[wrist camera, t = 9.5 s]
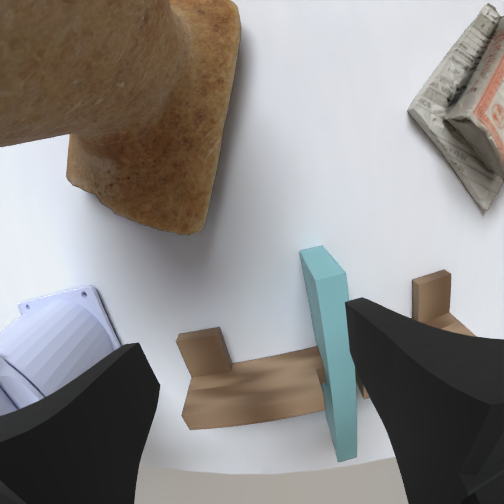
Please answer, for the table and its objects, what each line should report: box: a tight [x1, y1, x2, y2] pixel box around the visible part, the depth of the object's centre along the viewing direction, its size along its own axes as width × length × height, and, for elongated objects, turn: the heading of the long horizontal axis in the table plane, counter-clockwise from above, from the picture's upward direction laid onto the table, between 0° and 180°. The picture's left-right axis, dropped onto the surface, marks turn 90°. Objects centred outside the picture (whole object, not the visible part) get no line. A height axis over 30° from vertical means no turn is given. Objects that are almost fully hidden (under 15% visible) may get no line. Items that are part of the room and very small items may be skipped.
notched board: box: [176, 270, 476, 430], centre depth 18 cm, size 20×8×5 cm, turn 103°
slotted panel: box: [299, 245, 357, 462], centre depth 18 cm, size 16×2×5 cm, turn 14°
